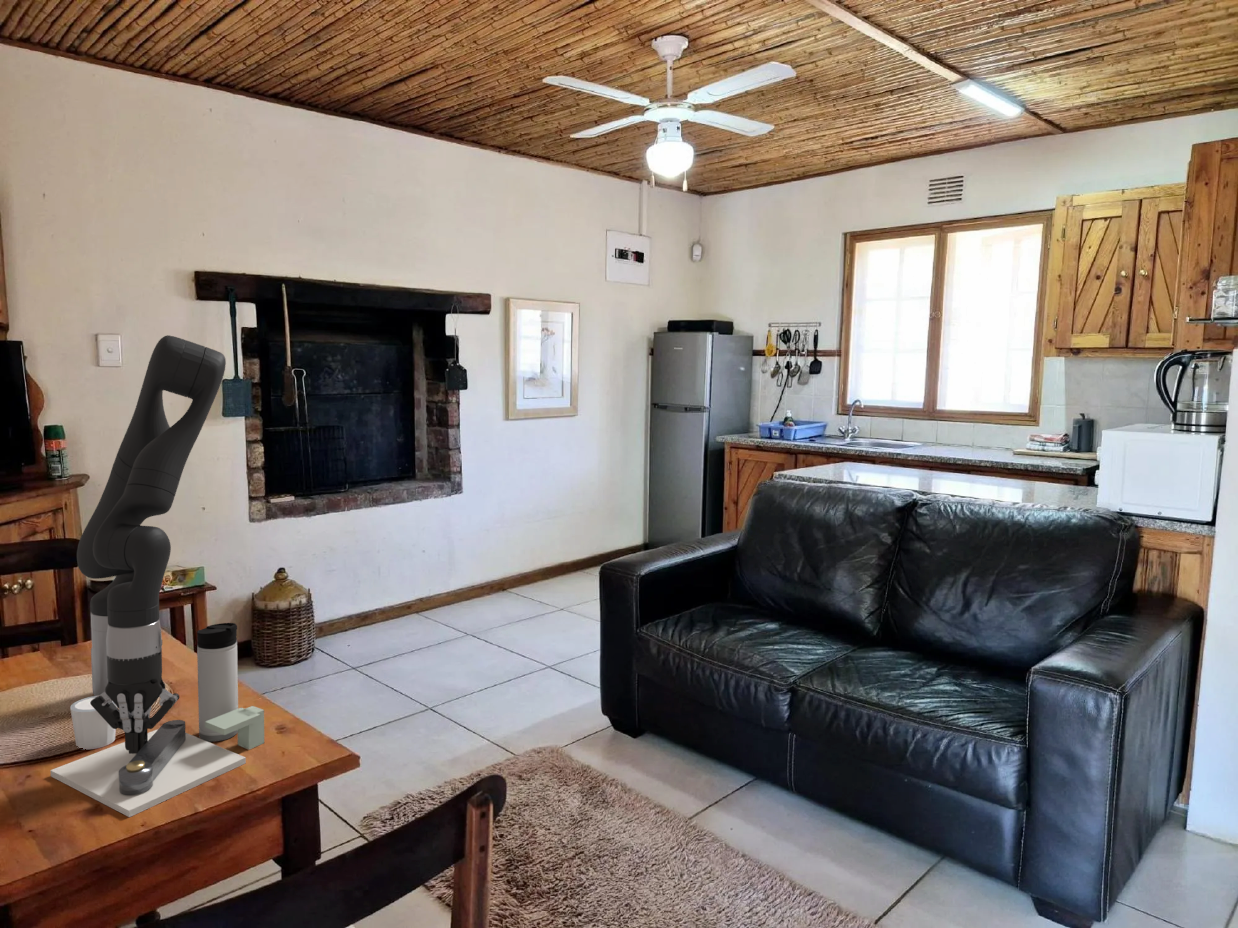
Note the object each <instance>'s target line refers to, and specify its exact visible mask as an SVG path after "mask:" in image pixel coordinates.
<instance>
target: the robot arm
mask: <svg viewBox="0 0 1238 928" xmlns="http://www.w3.org/2000/svg"><path fill="white" fill-rule="evenodd" d="M226 364H227V363H226V357H225V355H224V354H223V353H222V352H221V351H218V350H215V349H213V348H210V347H206V346H204V345H201V344H198V343H195V342H193V341H190V340H186V339H184V338H180V337H177V336H173V335H164V336H163V337H161V338H160V339H159V340H158V342H156V345H155V347H154V348H153V351H152V353H151V356H150V359H149V361H148V365H147V369H146V371H145V375H144V379H143V382H142V386H141V388H140V392H139V395H138V399H137V402H136V406H135V409H134V412H133V414H132V417H131V420H130V423H129V424H128V427H127V429H126V431H125V434H124V437H123V438H122V441H121V444H120V446H119V448H118V451H117V453H116V456H115V459H114V462H113V464H112V466H111V470H110V474H109V477H108V479H107V481H106V485H105V488H104V490H103V492H102V494H101V497H100V499H99V502H98V504H97V506H96V508H95V509H94V511H93V513H92V515H91V516H90V519H89V521H88V522H87V524H86V526H85V528H84V530H83V533H82V535H81V536H80V539H79V541H78V544H77V550H76V561H77V562H76V563H77V567H78V569H79V570H80V573H81V574H83V575H84V576H85V577H87V578H90V579H96V580H97V579H106V578H112V577H115V578H114V579H113V581H111V582H110V583H109V584H108V585H107V586H106V587H105V588H103V589H102V590H100V591H98V592H97V593H94V595H93V596H91V598H90V603H89V605H90V606H89V608H90V610H89V611H90V628H91V630H90V631H91V648H90V659H91V660H90V661H91V681H92V682H91V684H92V695H93V694H94V695H93V696H96V697H95V698H94V699H93V700H92V701H91V702H90V704H91V705H92V707H93V708H94V709H95V710H96V711H97V712H98V713H99V714H100V715H101V716H102V717H103V718H104V720H105V721H106V722H107V723H108V724H109V725H110V726H111V727H112V728H113V729H116V730H117V729H120V730H122V731H123V732H124V742H125V748H126V750H129V754H137V753H138V752H139V751H140V750H141V748H142V747H143V746H144V745H145V744H146V743H147V742H148V733H149V732H148V729H149V730H152V729H153V728H155V727H156V726H157V724H158V723H159V722H160V721H161V720H163V718H164V716H165V715H166V714H167V713H168V712H169V711H170V710H171V709H172V707H173V706H174V705H175V704H176V703H177V701H179V699H180V694H179V693H176V692H175V693H171V692H170V691H168V690H167V689H166V684H165V682H164V680H163V677H162V676H163V653H162V650H163V648H162V646H163V638H162V637H163V636H162V628H161V627H162V626H161V621H160V591H161V588H162V585H163V580H164V578H165V573H166V569H167V567H168V563H169V560H170V556H171V551H172V550H171V549H172V548H171V547H172V546H171V545H172V544H171V540H170V539H169V536H168V534H167V533H166V532H165V531H164V530H163V529H162V528H160V527H156V526H152V525H151V526H150V525H142V524H143V522H144V521H145V520H146V519H149V518H150V517H155V516H161V515H165V514H167V513H168V512H169V511H170V510H171V509H172V506H173V503H174V500H175V496H176V494H177V490H178V487H179V485H180V482H181V479H182V474H183V472H184V468H185V466H186V464H187V461H188V459H189V456H190V453H191V452H192V449H193V447H194V445H195V443H196V442H197V440H198V437H199V436H200V433H201V431H202V428H203V426H204V424H205V422H206V420H207V417H208V415H209V413H210V411H211V408H212V406H213V404H214V401H215V399H216V397H217V395H218V392H219V390H220V387H221V384H222V381H223V379H224V375H225V372H226ZM164 391H165V392H168V393H172V394H175V395H177V396H182V397H185V398H188V399H191V403H190V405H189V407H188V408H187V410H186V411H185V413H184V414H183V415H182V417H180V419H179V420H177V421H176V422H175V423H174V424H172V425H171V426H170V424H169V422H168V419H167V416H166V413H165V409H164V399H163V392H164ZM159 698H160V700H159V702H158V703H159V706H160V707H159V709H158V710H157V711H156V712H155V713H154V714H153V716H151V715H150V714H151V711H152V707H153V705H154V703H156V701H158V699H159ZM112 701H113V702H114V704H115V705H116V706H117V707H116V706H115V705H114V704H113V702H112ZM150 716H151V717H150Z"/></svg>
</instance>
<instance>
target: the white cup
mask: <svg viewBox="0 0 1238 928" xmlns="http://www.w3.org/2000/svg"><path fill="white" fill-rule="evenodd" d="M95 697H96V696H94V695H93V696H88V697H85V698H82V699H79V700H77V701H75V702H73V703H72V704H71V705H70V714H71V721H72V722H71V723H72V727H73V734H74V739H75V746H78V747H79V748H83V749H82V750H85V749H86V750H94V749H100V748H103V747H106V746H108V745H111V744H112V743H113V742H115V740H116V733H117V732H116V731H117V729H113V728H112V727H111V726H110V725H109V724H108V723H107V722H106V721H105V720H104V718H103V717H102V716H101V715H100V714H99V713H98V712H97V711H96V710H95V709H94V708H93V707H92V705H91V704H90V702H91V701H92V700H93V699H94V698H95ZM112 702H113V701H112ZM113 704H114V702H113ZM114 705H115V704H114ZM115 706H116V705H115ZM116 707H117V706H116ZM117 708H118V707H117ZM78 747H77V748H78ZM79 748H78V749H79Z"/></svg>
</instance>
